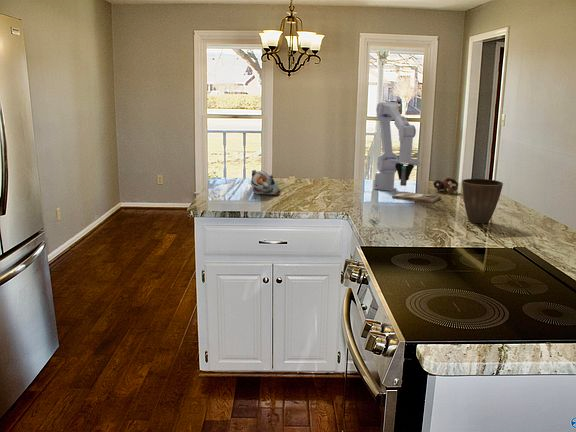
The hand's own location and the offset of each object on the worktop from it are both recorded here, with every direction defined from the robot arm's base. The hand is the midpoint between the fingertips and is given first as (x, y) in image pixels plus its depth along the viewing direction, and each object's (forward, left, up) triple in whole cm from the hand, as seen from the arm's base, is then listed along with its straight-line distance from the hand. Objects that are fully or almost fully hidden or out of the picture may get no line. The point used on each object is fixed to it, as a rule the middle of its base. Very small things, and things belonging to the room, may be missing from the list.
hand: (403, 179), depth 257 cm
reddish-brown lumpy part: (+14, +25, -8) cm, 29 cm away
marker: (0, 0, -3) cm, 3 cm away
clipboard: (+7, 0, -8) cm, 11 cm away
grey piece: (-55, -35, -8) cm, 66 cm away
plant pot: (+42, -32, -8) cm, 53 cm away
